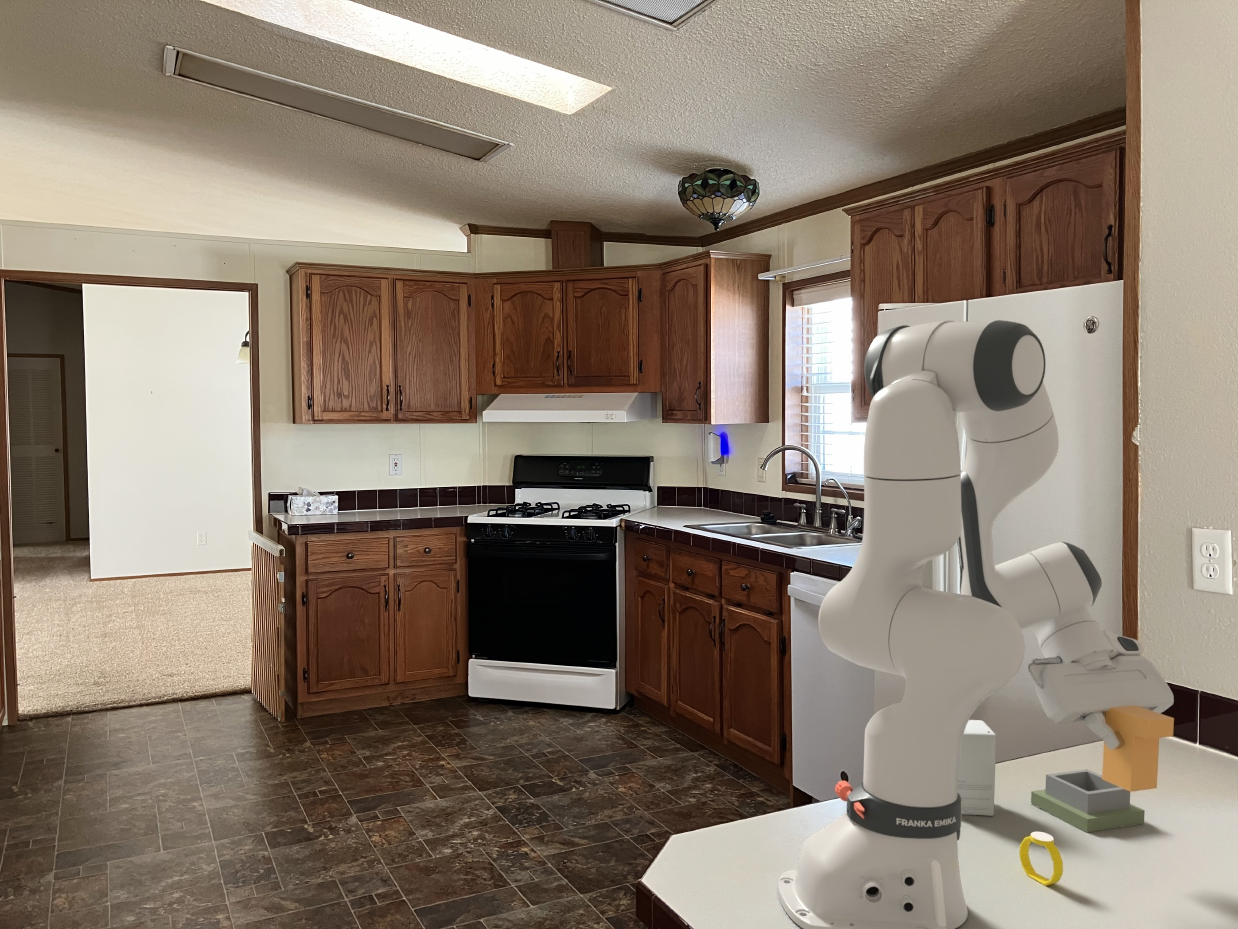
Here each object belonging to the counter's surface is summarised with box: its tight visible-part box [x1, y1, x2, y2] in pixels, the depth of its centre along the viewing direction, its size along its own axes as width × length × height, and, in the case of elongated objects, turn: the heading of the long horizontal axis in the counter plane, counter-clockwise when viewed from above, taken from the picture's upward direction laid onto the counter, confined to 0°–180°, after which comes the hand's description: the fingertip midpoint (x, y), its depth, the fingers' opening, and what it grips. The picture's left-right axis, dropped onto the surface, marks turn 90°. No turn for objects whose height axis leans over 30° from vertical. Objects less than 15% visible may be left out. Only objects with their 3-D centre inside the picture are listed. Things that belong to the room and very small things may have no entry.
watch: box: [1018, 831, 1064, 887], centre depth 125 cm, size 6×3×6 cm, turn 23°
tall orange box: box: [1101, 706, 1175, 793], centre depth 128 cm, size 7×5×10 cm
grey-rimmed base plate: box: [1030, 768, 1146, 833], centre depth 147 cm, size 11×11×5 cm
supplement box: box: [958, 719, 997, 817], centre depth 149 cm, size 7×7×13 cm
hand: (1135, 745), depth 128 cm, fingers closed on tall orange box, 5 cm apart
